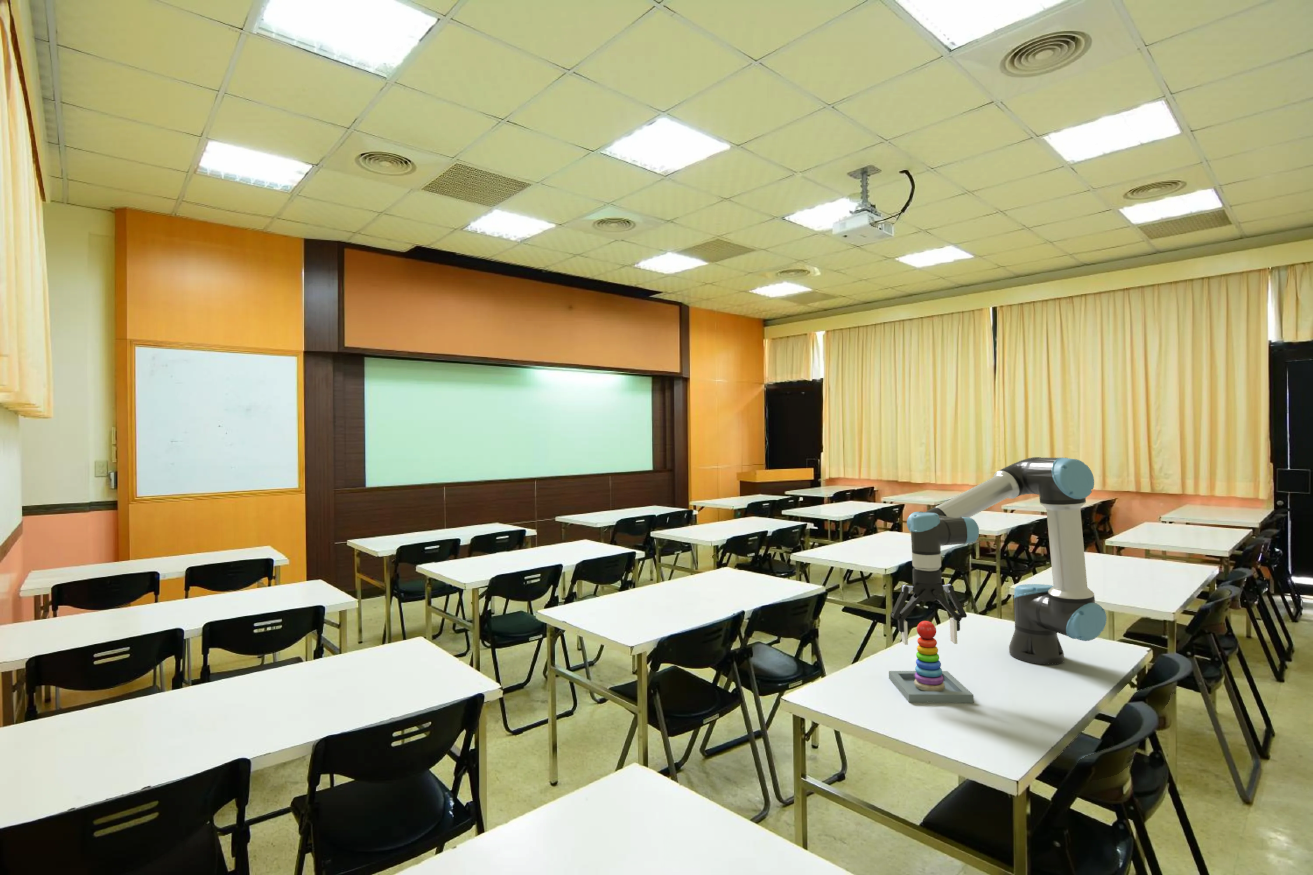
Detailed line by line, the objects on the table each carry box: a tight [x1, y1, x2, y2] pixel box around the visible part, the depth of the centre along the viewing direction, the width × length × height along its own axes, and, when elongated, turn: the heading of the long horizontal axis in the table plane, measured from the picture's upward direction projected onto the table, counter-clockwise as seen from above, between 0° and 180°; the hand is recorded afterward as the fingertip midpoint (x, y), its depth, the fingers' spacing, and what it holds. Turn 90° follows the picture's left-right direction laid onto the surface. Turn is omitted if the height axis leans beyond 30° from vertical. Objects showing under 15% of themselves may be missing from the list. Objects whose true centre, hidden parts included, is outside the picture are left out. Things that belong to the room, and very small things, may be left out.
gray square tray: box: [888, 670, 975, 704], centre depth 175 cm, size 17×17×2 cm
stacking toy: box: [914, 620, 945, 692], centre depth 175 cm, size 8×8×19 cm
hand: (929, 642), depth 175 cm, fingers open, 13 cm apart
